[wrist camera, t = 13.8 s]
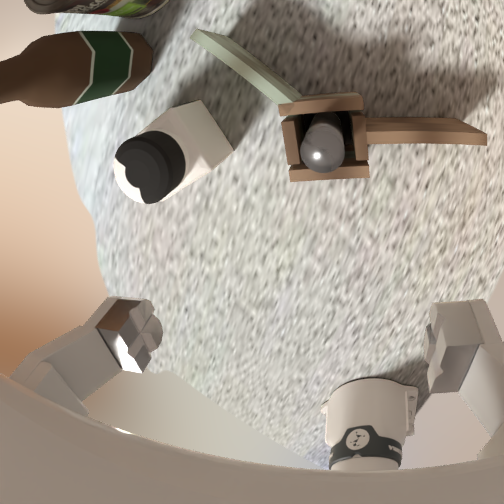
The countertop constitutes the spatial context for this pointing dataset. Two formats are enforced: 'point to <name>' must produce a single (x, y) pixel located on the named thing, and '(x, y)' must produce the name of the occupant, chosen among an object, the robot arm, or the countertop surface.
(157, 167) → the medicine bottle
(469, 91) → the countertop surface
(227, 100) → the countertop surface
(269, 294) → the countertop surface
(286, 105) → the stand
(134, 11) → the coffee can
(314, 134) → the hinge pin
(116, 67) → the beer bottle
